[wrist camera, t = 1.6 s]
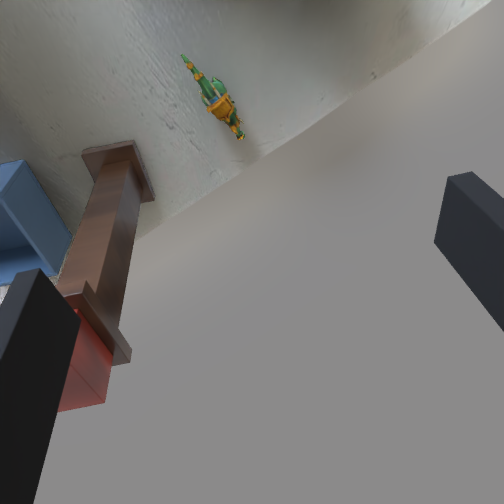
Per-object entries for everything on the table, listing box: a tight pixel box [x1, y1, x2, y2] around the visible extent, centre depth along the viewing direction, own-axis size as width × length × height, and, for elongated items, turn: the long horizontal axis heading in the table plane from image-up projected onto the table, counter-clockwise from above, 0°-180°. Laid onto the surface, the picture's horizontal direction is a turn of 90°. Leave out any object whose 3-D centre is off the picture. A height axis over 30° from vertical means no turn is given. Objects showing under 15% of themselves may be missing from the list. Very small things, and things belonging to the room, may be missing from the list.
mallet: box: [58, 309, 113, 412], centre depth 30 cm, size 7×13×4 cm, turn 99°
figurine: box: [181, 54, 245, 140], centre depth 44 cm, size 3×12×8 cm, turn 34°
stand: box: [55, 140, 155, 366], centre depth 42 cm, size 10×7×28 cm
